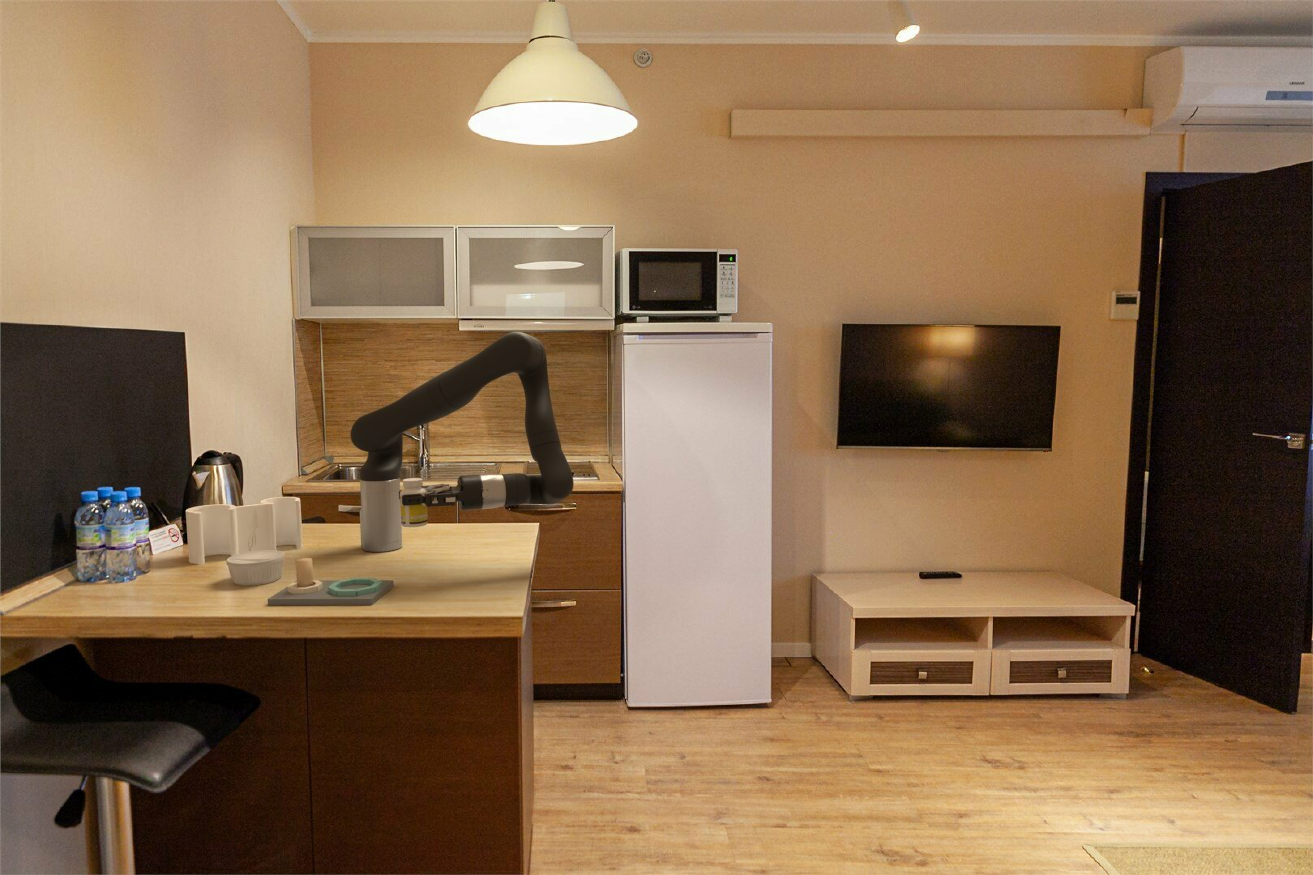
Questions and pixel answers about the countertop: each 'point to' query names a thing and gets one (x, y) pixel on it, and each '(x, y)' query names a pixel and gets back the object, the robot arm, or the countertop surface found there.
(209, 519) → the bracket
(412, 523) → the supplement bottle
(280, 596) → the socket board
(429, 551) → the countertop surface
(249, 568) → the ramekin
